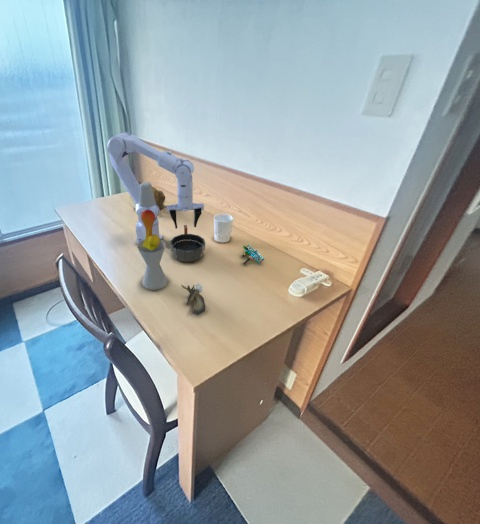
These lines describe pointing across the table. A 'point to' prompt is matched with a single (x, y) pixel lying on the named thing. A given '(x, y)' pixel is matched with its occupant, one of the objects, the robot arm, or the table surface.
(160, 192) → the rough brown rock
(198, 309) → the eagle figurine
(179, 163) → the robot arm
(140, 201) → the lava lamp
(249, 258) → the stick construction toy
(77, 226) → the table surface
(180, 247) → the black cooking pot
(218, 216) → the white cup
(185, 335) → the table surface
